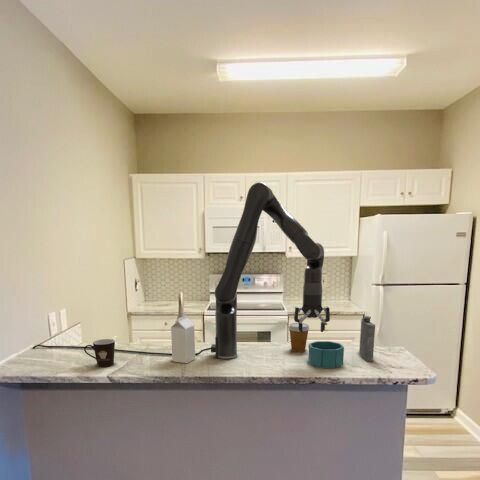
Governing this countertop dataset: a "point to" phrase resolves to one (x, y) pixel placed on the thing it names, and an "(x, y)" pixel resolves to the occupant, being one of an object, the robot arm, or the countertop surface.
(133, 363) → the countertop surface
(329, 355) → the teal octagonal bowl
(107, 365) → the coffee mug
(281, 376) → the countertop surface
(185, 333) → the milk carton
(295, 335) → the disposable coffee cup
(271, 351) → the countertop surface
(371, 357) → the flask
